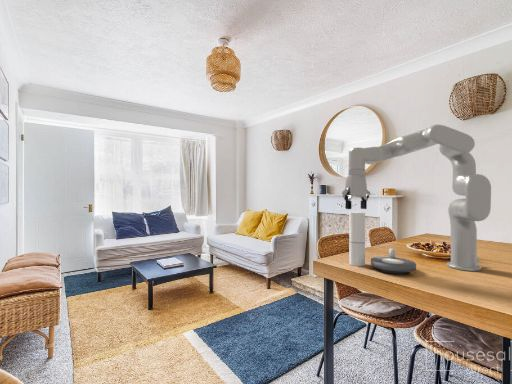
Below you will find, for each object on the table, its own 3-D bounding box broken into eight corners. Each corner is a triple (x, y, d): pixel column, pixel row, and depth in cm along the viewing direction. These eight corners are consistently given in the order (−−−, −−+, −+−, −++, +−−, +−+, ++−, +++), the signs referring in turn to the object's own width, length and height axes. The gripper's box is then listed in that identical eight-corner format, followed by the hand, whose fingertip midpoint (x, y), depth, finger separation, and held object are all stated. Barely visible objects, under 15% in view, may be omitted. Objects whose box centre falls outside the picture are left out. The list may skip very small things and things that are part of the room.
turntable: (371, 259, 132) (371, 247, 132) (413, 263, 125) (413, 250, 125) (369, 268, 116) (369, 254, 116) (418, 273, 108) (418, 258, 108)
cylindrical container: (362, 262, 133) (362, 211, 134) (367, 266, 126) (367, 212, 126) (347, 262, 134) (347, 211, 134) (351, 265, 127) (351, 212, 127)
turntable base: (390, 265, 128) (390, 261, 128) (414, 271, 117) (414, 268, 117) (372, 268, 123) (372, 264, 123) (395, 275, 112) (395, 271, 112)
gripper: (363, 174, 137) (363, 208, 137) (337, 173, 130) (336, 208, 130) (375, 174, 131) (375, 209, 131) (348, 172, 123) (348, 209, 123)
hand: (356, 208), depth 130 cm, fingers open, 9 cm apart
